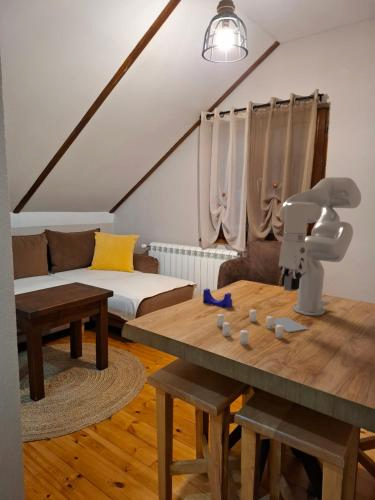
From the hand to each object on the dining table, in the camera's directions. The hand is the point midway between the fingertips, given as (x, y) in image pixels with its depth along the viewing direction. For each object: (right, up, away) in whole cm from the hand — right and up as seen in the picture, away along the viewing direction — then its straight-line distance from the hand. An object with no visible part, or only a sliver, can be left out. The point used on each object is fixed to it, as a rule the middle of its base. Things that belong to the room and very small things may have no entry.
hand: (290, 286), depth 126 cm
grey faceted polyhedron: (0, -1, 0) cm, 1 cm away
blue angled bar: (-24, -11, +25) cm, 37 cm away
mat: (0, -15, +3) cm, 15 cm away
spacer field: (-16, -15, -4) cm, 22 cm away
